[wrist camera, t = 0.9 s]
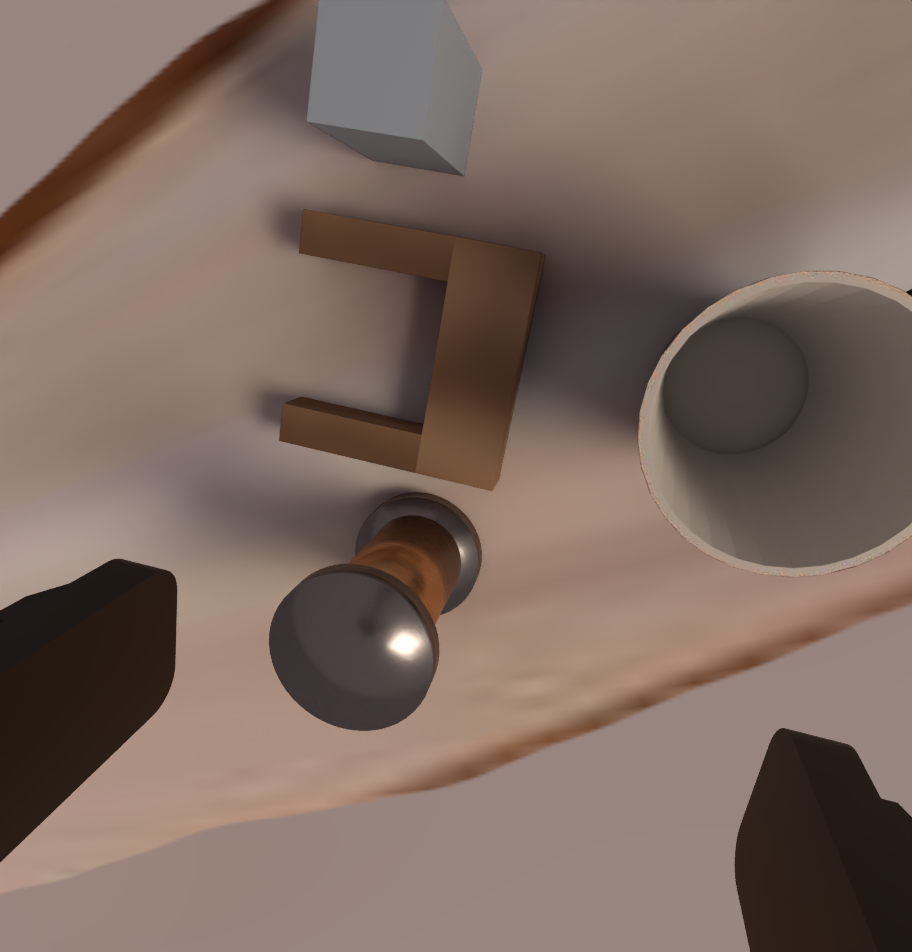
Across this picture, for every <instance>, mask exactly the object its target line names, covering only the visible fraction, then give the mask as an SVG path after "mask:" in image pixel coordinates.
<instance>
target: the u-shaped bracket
mask: <svg viewBox="0 0 912 952" xmlns="http://www.w3.org/2000/svg"><path fill="white" fill-rule="evenodd" d="M299 253H301V254H306V255H311V256H316V257H322V258H327V259H332V260H337V261H343V262H348V263H353V264H358V265H363V266H369V267H374V268H379V269H384V270H390V271H395V272H400V273H405V274H410V275H416V276H421V277H426V278H431V279H436V280H442V281H447V282H448V283H447V289H446V295H445V301H444V307H443V312H442V318H441V324H440V330H439V336H438V342H437V348H436V354H435V360H434V366H433V372H432V377H431V383H430V389H429V395H428V401H427V407H426V413H425V419H424V424H420V423H415V422H411V421H406V420H402V419H397V418H393V417H388V416H384V415H380V414H375V413H371V412H366V411H362V410H357V409H353V408H348V407H344V406H339V405H335V404H331V403H326V402H322V401H317V400H313V399H308V398H304V397H300V398H297V399H294V400H292V401H289V402H286V403H283V409H282V418H281V428H280V437H279V441H282V442H286V443H291V444H295V445H299V446H303V447H308V448H312V449H316V450H320V451H325V452H329V453H333V454H337V455H342V456H346V457H350V458H354V459H359V460H363V461H367V462H371V463H375V464H380V465H384V466H388V467H392V468H397V469H401V470H405V471H409V472H414V473H418V474H422V475H426V476H431V477H435V478H439V479H443V480H448V481H452V482H456V483H460V484H465V485H469V486H473V487H477V488H481V489H486V490H490V491H493V489H494V487H495V485H496V483H497V482H498V480H499V476H500V471H501V467H502V462H503V457H504V452H505V447H506V442H507V438H508V433H509V428H510V423H511V418H512V414H513V409H514V404H515V399H516V394H517V390H518V385H519V380H520V375H521V370H522V365H523V361H524V356H525V351H526V346H527V341H528V337H529V332H530V327H531V322H532V317H533V312H534V308H535V303H536V298H537V293H538V288H539V284H540V279H541V274H542V269H543V264H544V260H545V254H543V253H542V252H537V251H531V250H526V249H520V248H515V247H509V246H504V245H498V244H493V243H487V242H482V241H476V240H471V239H465V238H460V237H454V236H449V235H443V234H438V233H432V232H426V231H421V230H415V229H410V228H404V227H399V226H393V225H388V224H382V223H377V222H371V221H366V220H360V219H355V218H349V217H344V216H338V215H333V214H327V213H322V212H316V211H311V210H305V209H304V210H303V220H302V229H301V239H300V248H299Z"/></svg>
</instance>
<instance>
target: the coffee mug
mask: <svg viewBox="0 0 912 952" xmlns="http://www.w3.org/2000/svg"><path fill="white" fill-rule="evenodd" d="M638 447H639V455H640V463H641V469H642V472H643V474H644V477H645V480H646V483H647V486H648V489H649V491H650V494H651V496H652V497H653V499H654V501H655V502H656V504H657V506H658V507H659V509H660V511H661V512H662V514H663V516H664V517H665V518H666V519H667V521H668V522H669V523H670V524H671V525H672V526H673V527H674V528H675V529H676V530H677V531H678V532H679V533H680V535H681V536H682V537H683V538H684V539H686V540H687V541H689V542H690V543H691V544H693V545H694V546H695V547H697V548H698V549H700V550H701V551H702V552H704V553H705V554H707V555H708V556H711V557H713V558H715V559H717V560H719V561H721V562H723V563H726V564H728V565H730V566H732V567H735V568H739V569H742V570H746V571H750V572H754V573H758V574H761V575H771V576H783V577H803V576H815V575H825V574H829V573H833V572H837V571H841V570H845V569H849V568H853V567H856V566H859V565H861V564H863V563H865V562H868V561H870V560H872V559H874V558H877V557H879V556H881V555H883V554H886V553H887V552H889V551H890V550H892V549H893V548H895V547H896V546H898V545H899V544H901V543H902V542H904V541H905V540H907V539H908V538H910V537H911V536H912V289H911V290H909V291H907V292H905V291H903V290H901V289H898V288H896V287H894V286H891V285H889V284H886V283H884V282H882V281H879V280H877V279H875V278H871V277H866V276H861V275H856V274H851V273H846V272H841V271H801V272H796V273H790V274H785V275H780V276H774V277H769V278H766V279H764V280H761V281H759V282H756V283H753V284H751V285H748V286H745V287H743V288H740V289H738V290H736V291H734V292H732V293H731V294H729V295H727V296H726V297H724V298H722V299H721V300H719V301H717V302H716V303H714V304H712V305H711V306H709V307H707V308H706V309H705V310H704V311H703V312H702V313H700V314H699V315H698V316H697V317H696V318H695V319H694V320H692V321H691V322H690V323H689V324H688V325H687V326H686V327H684V328H683V329H682V330H681V331H680V332H679V333H678V334H676V335H675V337H674V338H673V339H672V340H671V342H670V343H669V344H668V346H667V347H666V348H665V350H664V352H663V354H662V356H661V358H660V360H659V362H658V364H657V366H656V368H655V370H654V372H653V374H652V376H651V378H650V380H649V382H648V385H647V388H646V392H645V395H644V398H643V402H642V405H641V409H640V416H639V428H638Z"/></svg>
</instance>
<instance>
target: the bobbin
mask: <svg viewBox="0 0 912 952" xmlns="http://www.w3.org/2000/svg"><path fill="white" fill-rule="evenodd" d="M481 561H482V551H481V544H480V540H479V537H478V534H477V532H476V530H475V528H474V526H473V525H472V523H471V521H470V520H469V519H468V517H467V516H466V515H465V514H464V513H463V512H462V511H461V510H460V509H459V508H457V507H456V506H455V505H454V504H452V503H450V502H449V501H447V500H445V499H443V498H440V497H438V496H434V495H431V494H425V493H407V494H403V495H399V496H396V497H394V498H391V499H390V500H388V501H386V502H385V503H383V504H382V505H381V506H380V507H378V508H377V509H376V510H375V511H374V512H373V513H372V514H371V515H370V516H369V517H368V519H367V520H366V521H365V523H364V524H363V526H362V528H361V530H360V532H359V535H358V538H357V542H356V556H355V557H354V558H353V559H352V560H351V561H350V562H349V563H348V564H338V565H333V566H329V567H326V568H323V569H320V570H318V571H316V572H314V573H312V574H310V575H309V576H308V577H306V578H305V579H304V580H302V581H301V582H300V583H299V584H298V585H297V586H296V587H295V588H294V589H293V590H292V591H291V592H290V593H289V594H288V595H287V596H286V597H285V598H284V599H283V601H282V602H281V603H280V605H279V606H278V608H277V610H276V612H275V614H274V617H273V620H272V623H271V627H270V633H269V647H270V655H271V659H272V663H273V666H274V669H275V671H276V674H277V676H278V678H279V680H280V682H281V683H282V685H283V686H284V688H285V689H286V691H287V692H288V693H289V694H290V696H291V697H292V698H293V699H294V700H295V701H296V702H297V703H298V704H299V705H300V706H301V707H302V708H304V709H305V710H306V711H308V712H309V713H310V714H312V715H313V716H315V717H317V718H318V719H320V720H322V721H324V722H326V723H329V724H331V725H334V726H337V727H340V728H345V729H349V730H358V731H370V730H378V729H382V728H386V727H389V726H392V725H394V724H397V723H399V722H400V721H402V720H404V719H405V718H407V717H408V716H409V715H410V714H412V713H413V712H414V711H415V710H416V708H417V707H418V706H419V705H420V704H421V702H422V701H423V699H424V698H425V696H426V693H427V691H428V689H429V687H430V684H431V682H432V680H433V677H434V675H435V673H436V669H437V666H438V661H439V640H438V634H437V630H436V627H435V624H436V622H437V620H438V618H439V616H440V615H441V614H444V613H447V612H449V611H451V610H452V609H454V608H456V607H457V606H458V605H459V604H461V603H462V602H463V601H464V600H465V599H466V597H467V596H468V595H469V593H470V592H471V590H472V588H473V586H474V584H475V581H476V579H477V577H478V574H479V571H480V567H481Z"/></svg>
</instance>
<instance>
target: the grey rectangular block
mask: <svg viewBox="0 0 912 952" xmlns="http://www.w3.org/2000/svg"><path fill="white" fill-rule="evenodd" d="M481 74H482V68H481V66H480V64H479V62H478V60H477V58H476V56H475V55H474V53H473V51H472V49H471V47H470V45H469V43H468V41H467V39H466V37H465V35H464V34H463V32H462V30H461V28H460V26H459V24H458V22H457V20H456V18H455V16H454V14H453V13H452V11H451V9H450V7H449V5H448V3H447V1H446V0H319V6H318V16H317V25H316V35H315V45H314V54H313V64H312V74H311V83H310V93H309V103H308V112H307V122H308V123H310V124H312V125H314V126H315V127H317V128H319V129H320V130H322V131H324V132H325V133H327V134H329V135H331V136H332V137H334V138H336V139H337V140H339V141H341V142H342V143H344V144H346V145H348V146H349V147H351V148H353V149H354V150H356V151H358V152H359V153H361V154H363V155H364V156H366V157H368V158H370V159H371V160H373V161H377V162H383V163H389V164H395V165H401V166H407V167H413V168H419V169H425V170H431V171H437V172H443V173H449V174H455V175H461V176H464V175H465V169H466V163H467V157H468V151H469V145H470V139H471V133H472V128H473V122H474V116H475V110H476V104H477V98H478V92H479V86H480V80H481Z"/></svg>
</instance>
